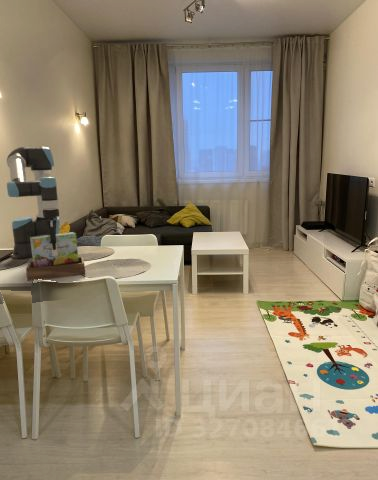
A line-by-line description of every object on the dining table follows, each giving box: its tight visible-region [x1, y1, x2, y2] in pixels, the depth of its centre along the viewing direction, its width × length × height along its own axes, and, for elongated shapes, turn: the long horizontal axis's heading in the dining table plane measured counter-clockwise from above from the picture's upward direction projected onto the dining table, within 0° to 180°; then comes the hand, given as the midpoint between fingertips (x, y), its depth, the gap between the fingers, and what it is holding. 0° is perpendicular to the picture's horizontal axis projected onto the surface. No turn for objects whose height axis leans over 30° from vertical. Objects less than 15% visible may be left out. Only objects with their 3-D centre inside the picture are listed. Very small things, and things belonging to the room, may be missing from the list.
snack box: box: [30, 231, 79, 268], centre depth 185 cm, size 21×6×15 cm, turn 125°
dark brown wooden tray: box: [25, 256, 86, 282], centre depth 187 cm, size 14×27×6 cm, turn 108°
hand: (55, 253), depth 185 cm, fingers closed on snack box, 7 cm apart
